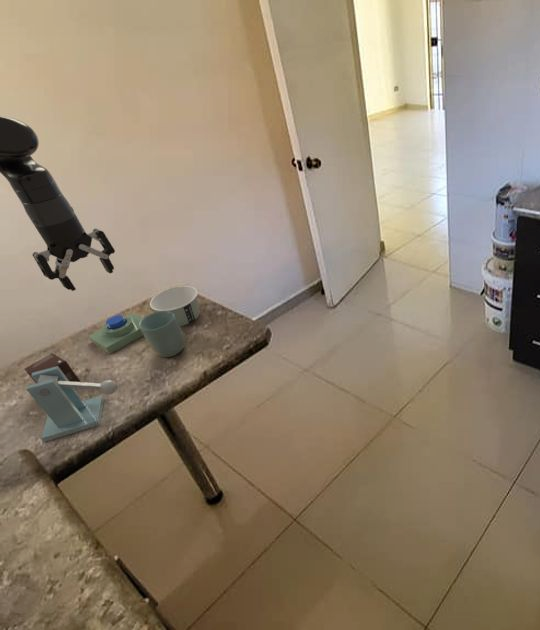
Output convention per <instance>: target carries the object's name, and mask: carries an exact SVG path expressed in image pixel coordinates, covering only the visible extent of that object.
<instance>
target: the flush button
mask: <svg viewBox="0 0 540 630" xmlns="http://www.w3.org/2000/svg"><path fill="white" fill-rule="evenodd" d="M123 316H124V315H121V314H118V315H113V316H111V317H109V318H108V319H106V321H105V323H106V324H107V326H108V327H109V329H117V328H120V327H122V326H124V325H125V324H126V321H125V319H124V317H123Z"/></svg>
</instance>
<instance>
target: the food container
mask: <svg viewBox="0 0 540 630" xmlns="http://www.w3.org/2000/svg"><path fill="white" fill-rule="evenodd" d="M198 294H199V292H198V290H197V288H196V287H193V286H191V285H178V286H173V287H169V288H166V289H164V290H162V291H160V292H159V293H156V294H155V295H154V296H153V297H152V298H151V299H150V301H149V307H150V308H151V309H152V311H154V312H158V311H170V312H172V313H173V314H174V315H175V316H176V318H177V320H178V323H179V325H180V327H183V326H187V325H188V324H189V325H190V324H191V323H193V322H195V320H197V319H198V318H199V316H200V315H199V314H201V309H200V305H199V300H198V299H199V298H198Z"/></svg>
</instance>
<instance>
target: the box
mask: <svg viewBox="0 0 540 630" xmlns="http://www.w3.org/2000/svg"><path fill="white" fill-rule="evenodd" d="M56 366H58V367H59V368H60V369H61V371H62V372H63V374H64V375H65V376H66V378H67V379H68V380H69V381H70V382H82V380H81V379H80V378H79V377H78V376H77V374H76V373H75V372H74V370H73V368H71V366H70V365H69V363H68V362H67V361H66V360H65V359H63V358H61V357H60V356H58V355H57V354H55V353H53V352H52V353H50V354H48V355H46V356H45V357H42V358H41V359H39V360H37V361H35V362H33V363H32V364H30V365H28V366H26V367H24V371H25V372H26V373H27V374H28V376H29V377H30V378H31V379H32V380H33V382H34V384H36V383H37V382H36V381H35V380H34V379H33V377H32V376H31V375H32V373H34V372H37V371H41V370H45V369H49V368H52V367H56Z"/></svg>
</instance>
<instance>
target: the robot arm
mask: <svg viewBox="0 0 540 630" xmlns="http://www.w3.org/2000/svg"><path fill="white" fill-rule="evenodd" d="M39 145H40V141H39V138H38V135H37V133H36V132H35V130H34V129H33V128H32V127H30V126H29V125H28V124H26V123H25V122H23V121H21V120H19V119H16V118H12V117H9V116H2V115H0V174H1V175H2V176H3V177H4V178H5V179H6V180H7V182H8V183H9V185H10V187H11V188H12V190H13V191H14V193H15V195H16V197H17V198H18V199H19V201H20V203H21V205H22V207H23V208H24V211H25V213H26V215H27V216H28V218H29V220H31V223H32V224H33V226H34V227H35V229H36V230H37V232H38V234H39V235H40V237H41V238H42V240H43V241H44V243H45V244H46V250H43V251H41V252H37V251H34V252H33V253H32V257H33V259H34V261H35V263H36V264H37V266H38V268H39V270H40V271H41V273H42V275H43V276H44V277H46V278H48V279H49V280H50V281H53V280H55V279H58V280H59V282H60V283H61V286H62V287H64V288H65V289H66V290H68V291H69V290H70V291H71V292H73V291H77V288H76V287H75V285H74V284H73V282H72V280H71V279H70V278H69V275H67V272H68V269H69V268H70V264H71V263H76V262H78V261H79V260H80V259H84V258H87V257H88V255H89V254H91V255H94V256H96V257H98V260H99V261H100V263H101V265H102V266H103V268H104V270H105V271H106V273H108V274H113V273H114V270H115V267H114V264H113V263H112V261H111V259H110V256H111V255H112V254H115V252H116V250H115V248H114V247H113V245H112V243H111V242H110V240H109V238H108V236H107V235H106V233H105V232H104V230H101V229H98V228H93V230H92V232H90V233H87V232H86V231H85V229H84V227H83V225H82V223H81V222H80V220H79V218H78V216H77V215H76V212H75V210H74V208H73V206H71V204H70V202H69V201H68V199H67V198H66V197H65V196H64V194H63V193H62V191H61V189H60V187H59V186H58V184H57V182H56V180H55V179H54V176H53V175H52V174H51V173H50V171H49V170H48V169H47V168H46V167H45V166H43V165H41V164H39V163H37V162H36V161H35V160H34V159H33V157H32V156H31V155H34V154H35V153H36V152H37V150H38V148H39ZM93 239H94V241H97V242H99V244H100V245H101V247H102V248H103V249H102V250H101V251H100V250H98V249H96V248H94V247H92V242H93ZM50 256H53V257H55V262H54V264H55V268H54V271H53V270H52V268H51V266H50V264H49V262H50Z"/></svg>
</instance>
